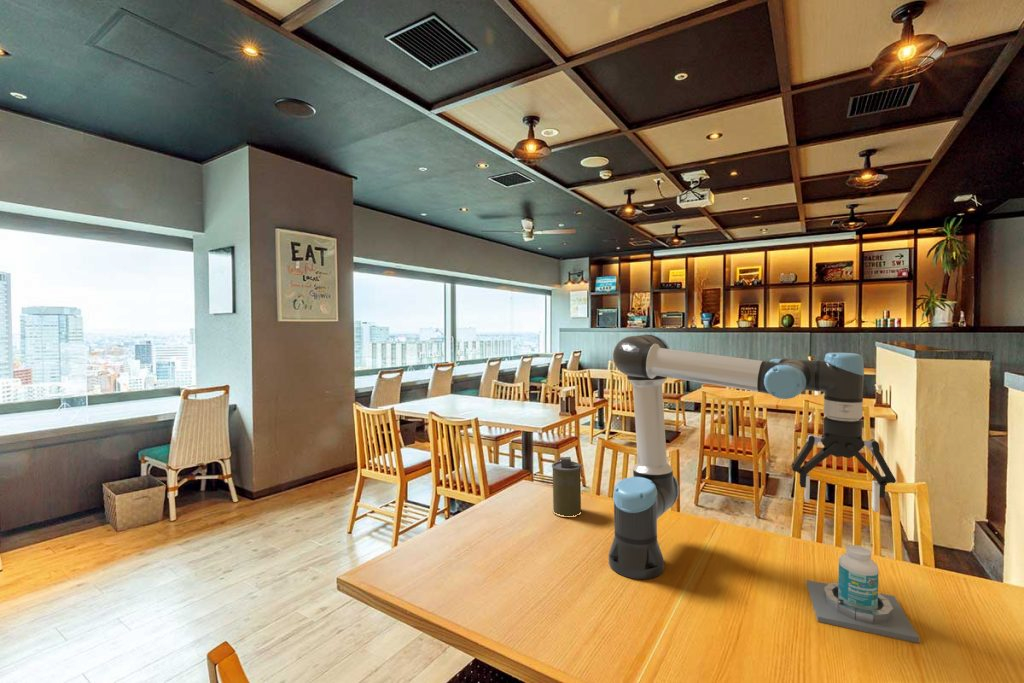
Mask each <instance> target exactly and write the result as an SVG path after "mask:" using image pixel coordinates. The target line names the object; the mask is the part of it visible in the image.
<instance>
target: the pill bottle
mask: <svg viewBox="0 0 1024 683" xmlns="http://www.w3.org/2000/svg"><path fill="white" fill-rule="evenodd" d="M845 552H846V553H843V554H841V555H840V556H839V558H838V599H841V600H843V601H844V603H845V604H848V605H850V606H852V607H855V608H859V609H864V610H869V611H872V610H877V609H878V593H879V572H880V571H879V570H880V569H879V565H878V564H877V563H876V562H875V561H874V560H872V551H871V550H870V549H868V548H866V547H864V546H862V545H858V544H857V545H856V544H848V545H846V548H845Z"/></svg>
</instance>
